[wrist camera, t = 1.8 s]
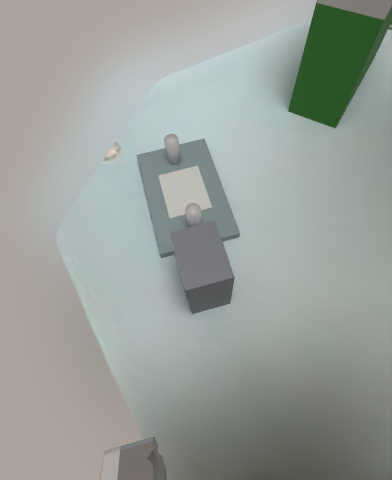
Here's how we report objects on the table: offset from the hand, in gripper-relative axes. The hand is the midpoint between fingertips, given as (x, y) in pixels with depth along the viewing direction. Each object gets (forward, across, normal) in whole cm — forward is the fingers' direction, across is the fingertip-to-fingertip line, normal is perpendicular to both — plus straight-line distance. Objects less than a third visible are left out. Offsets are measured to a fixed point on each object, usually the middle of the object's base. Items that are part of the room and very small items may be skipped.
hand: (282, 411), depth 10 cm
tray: (+35, -1, -1) cm, 35 cm away
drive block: (+26, 0, +8) cm, 27 cm away
